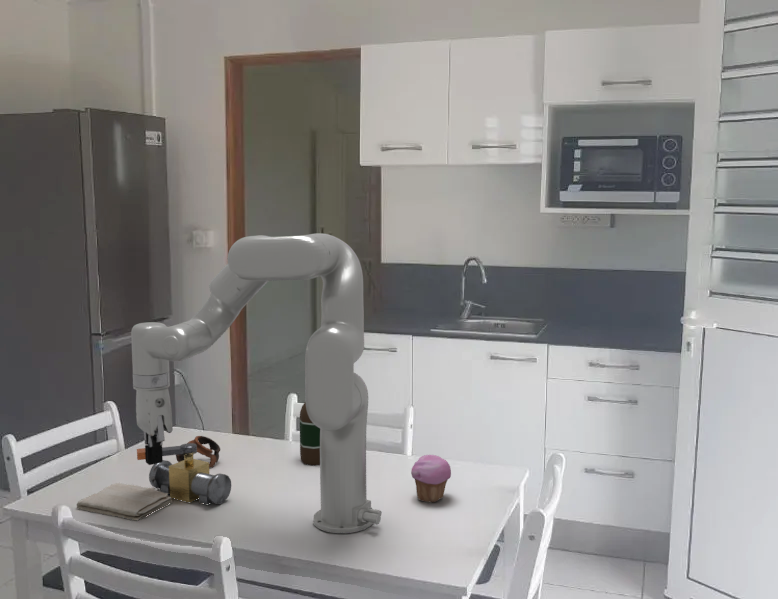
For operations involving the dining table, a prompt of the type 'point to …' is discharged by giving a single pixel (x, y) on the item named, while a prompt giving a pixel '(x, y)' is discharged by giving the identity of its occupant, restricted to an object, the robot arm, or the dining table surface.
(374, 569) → the dining table surface
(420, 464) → the cupcake
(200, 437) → the brown curved band
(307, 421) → the beer bottle
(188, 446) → the lever
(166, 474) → the valve body
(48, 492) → the dining table surface
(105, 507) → the washcloth
